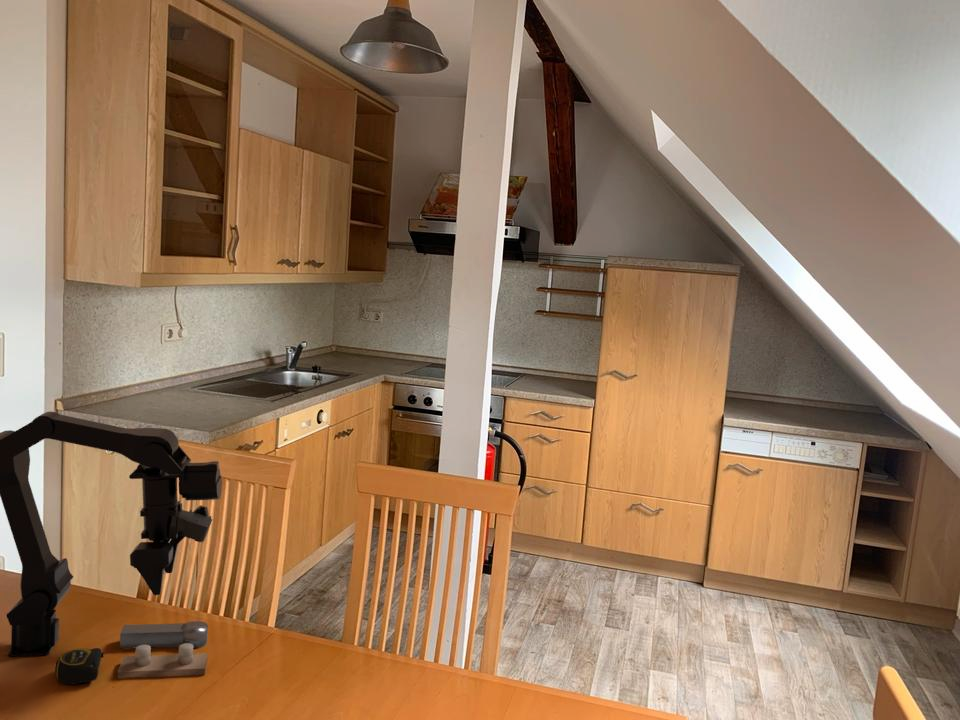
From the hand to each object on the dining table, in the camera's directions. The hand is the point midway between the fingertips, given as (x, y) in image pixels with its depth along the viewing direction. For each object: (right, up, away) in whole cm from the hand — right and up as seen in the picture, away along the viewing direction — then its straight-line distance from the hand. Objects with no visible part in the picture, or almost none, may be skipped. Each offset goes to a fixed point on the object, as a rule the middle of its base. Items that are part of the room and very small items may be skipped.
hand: (163, 583), depth 139 cm
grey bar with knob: (-1, -12, +3) cm, 13 cm away
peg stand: (+2, -14, -5) cm, 15 cm away
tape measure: (-10, -13, -9) cm, 19 cm away
